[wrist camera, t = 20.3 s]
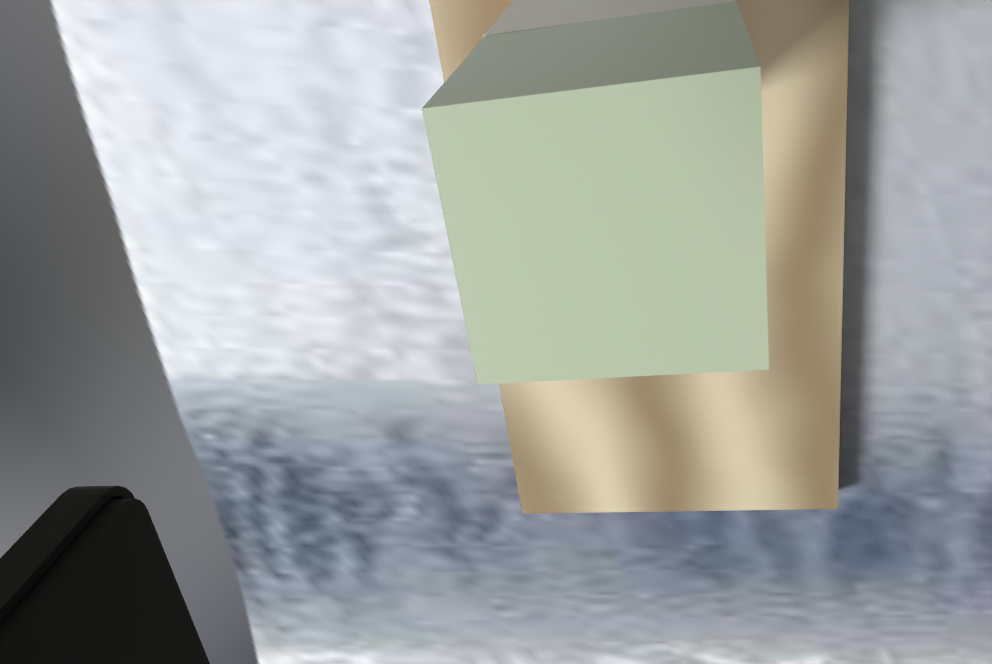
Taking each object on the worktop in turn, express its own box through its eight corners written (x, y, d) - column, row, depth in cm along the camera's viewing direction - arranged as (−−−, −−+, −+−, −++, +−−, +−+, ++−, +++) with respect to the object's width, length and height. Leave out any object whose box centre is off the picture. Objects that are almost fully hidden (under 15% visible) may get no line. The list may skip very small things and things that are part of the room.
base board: (845, -95, 30) (890, -72, 23) (833, 491, 41) (862, 611, 34) (432, -32, 33) (376, 3, 26) (526, 496, 44) (502, 608, 38)
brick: (736, 1, 19) (760, 66, 14) (745, 239, 22) (769, 369, 17) (484, 35, 20) (421, 109, 15) (520, 258, 23) (478, 384, 18)
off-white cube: (721, -36, 24) (734, 1, 19) (728, 160, 27) (742, 240, 22) (520, -8, 26) (483, 35, 20) (546, 178, 28) (518, 257, 23)
